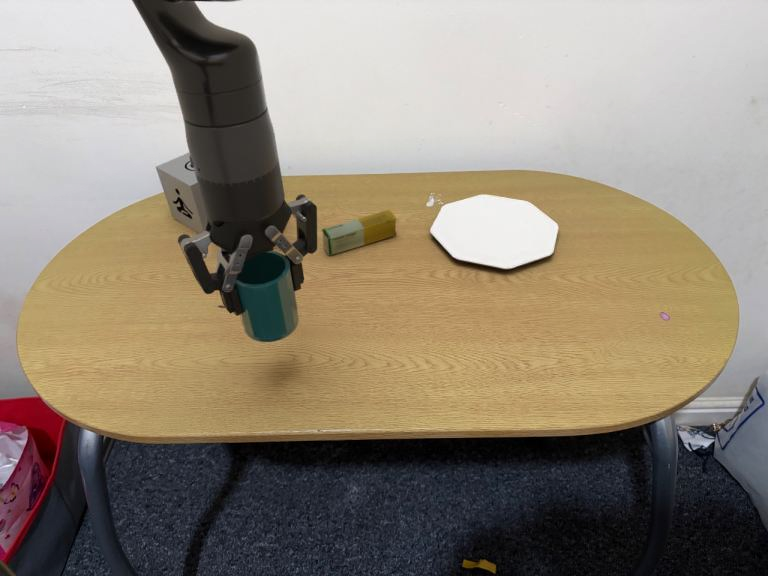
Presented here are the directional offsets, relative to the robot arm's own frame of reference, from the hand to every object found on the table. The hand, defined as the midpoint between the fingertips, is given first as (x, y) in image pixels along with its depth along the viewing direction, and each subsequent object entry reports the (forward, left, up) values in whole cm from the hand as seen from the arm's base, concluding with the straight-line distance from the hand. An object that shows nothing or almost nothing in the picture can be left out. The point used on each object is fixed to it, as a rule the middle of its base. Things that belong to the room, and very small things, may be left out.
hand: (266, 298), depth 59 cm
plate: (+41, -8, -13) cm, 44 cm away
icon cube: (+19, +36, -13) cm, 43 cm away
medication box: (+27, +9, -13) cm, 31 cm away
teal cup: (0, 0, -4) cm, 4 cm away
